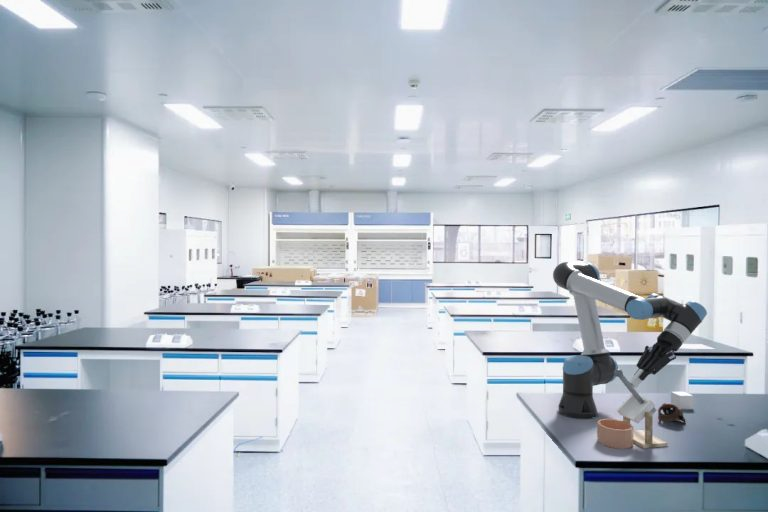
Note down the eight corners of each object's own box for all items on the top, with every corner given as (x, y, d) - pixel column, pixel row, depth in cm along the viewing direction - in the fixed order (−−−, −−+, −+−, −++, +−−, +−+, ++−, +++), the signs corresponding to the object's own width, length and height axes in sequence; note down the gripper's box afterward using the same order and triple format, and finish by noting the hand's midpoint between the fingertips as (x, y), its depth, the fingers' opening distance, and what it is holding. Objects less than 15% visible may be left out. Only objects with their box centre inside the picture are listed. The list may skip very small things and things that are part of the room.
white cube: (679, 409, 207) (679, 395, 207) (670, 405, 213) (670, 391, 213) (693, 409, 207) (693, 395, 207) (684, 404, 213) (684, 391, 213)
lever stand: (641, 433, 179) (642, 401, 179) (667, 446, 167) (667, 412, 167) (619, 434, 177) (619, 402, 177) (643, 448, 165) (643, 413, 165)
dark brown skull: (692, 428, 186) (686, 411, 184) (669, 437, 188) (662, 420, 186) (675, 410, 198) (669, 394, 196) (653, 419, 199) (646, 403, 198)
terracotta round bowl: (593, 443, 169) (594, 425, 169) (602, 434, 178) (602, 416, 178) (628, 451, 162) (628, 432, 162) (635, 441, 171) (635, 423, 171)
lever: (641, 403, 177) (610, 364, 175) (660, 411, 168) (627, 370, 166) (625, 420, 176) (593, 381, 173) (643, 429, 167) (609, 388, 164)
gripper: (693, 347, 168) (652, 397, 165) (665, 341, 181) (626, 387, 178) (681, 333, 167) (638, 382, 164) (653, 327, 180) (613, 373, 177)
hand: (632, 384), depth 171 cm, fingers closed
